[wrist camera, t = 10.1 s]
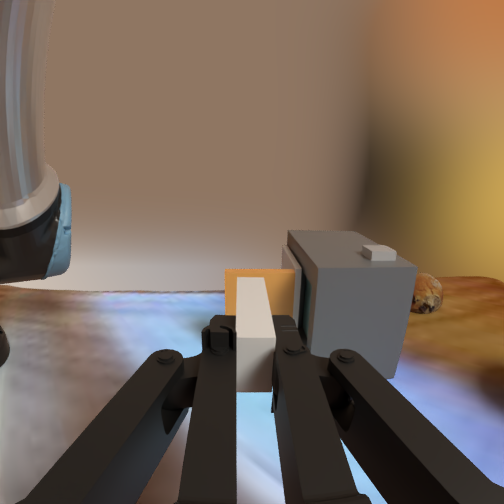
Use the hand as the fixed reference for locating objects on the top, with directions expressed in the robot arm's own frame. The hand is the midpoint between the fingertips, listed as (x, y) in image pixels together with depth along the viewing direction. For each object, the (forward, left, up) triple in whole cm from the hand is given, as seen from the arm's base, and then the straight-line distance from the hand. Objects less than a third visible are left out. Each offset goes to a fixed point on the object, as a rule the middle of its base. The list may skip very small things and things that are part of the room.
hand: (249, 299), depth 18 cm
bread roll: (+33, +32, -16) cm, 49 cm away
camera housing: (+13, +21, -15) cm, 29 cm away
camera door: (+2, +23, -13) cm, 27 cm away
